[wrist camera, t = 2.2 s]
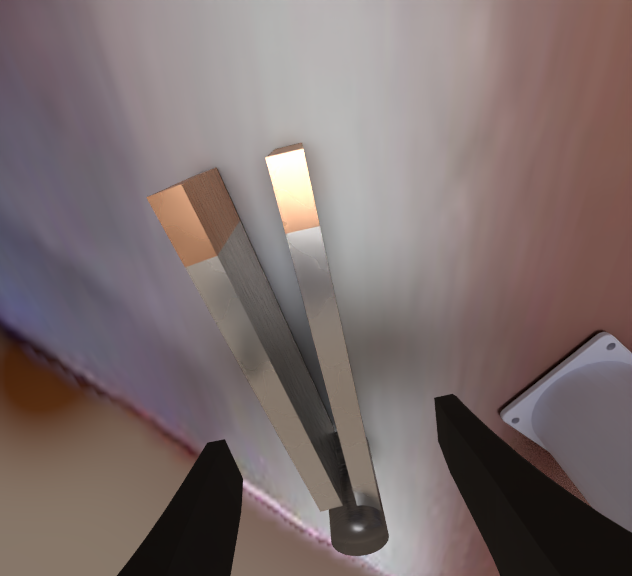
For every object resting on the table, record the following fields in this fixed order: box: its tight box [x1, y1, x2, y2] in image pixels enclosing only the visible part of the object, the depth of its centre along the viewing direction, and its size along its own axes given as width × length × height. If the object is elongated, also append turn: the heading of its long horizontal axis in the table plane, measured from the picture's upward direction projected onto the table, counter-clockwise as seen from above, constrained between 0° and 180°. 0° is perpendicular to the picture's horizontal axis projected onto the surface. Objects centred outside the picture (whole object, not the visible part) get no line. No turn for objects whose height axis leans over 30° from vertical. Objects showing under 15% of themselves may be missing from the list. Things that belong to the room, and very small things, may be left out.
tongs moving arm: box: [146, 168, 343, 512], centre depth 16 cm, size 17×1×5 cm, turn 20°
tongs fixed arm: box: [266, 143, 389, 556], centre depth 17 cm, size 20×3×6 cm, turn 13°
